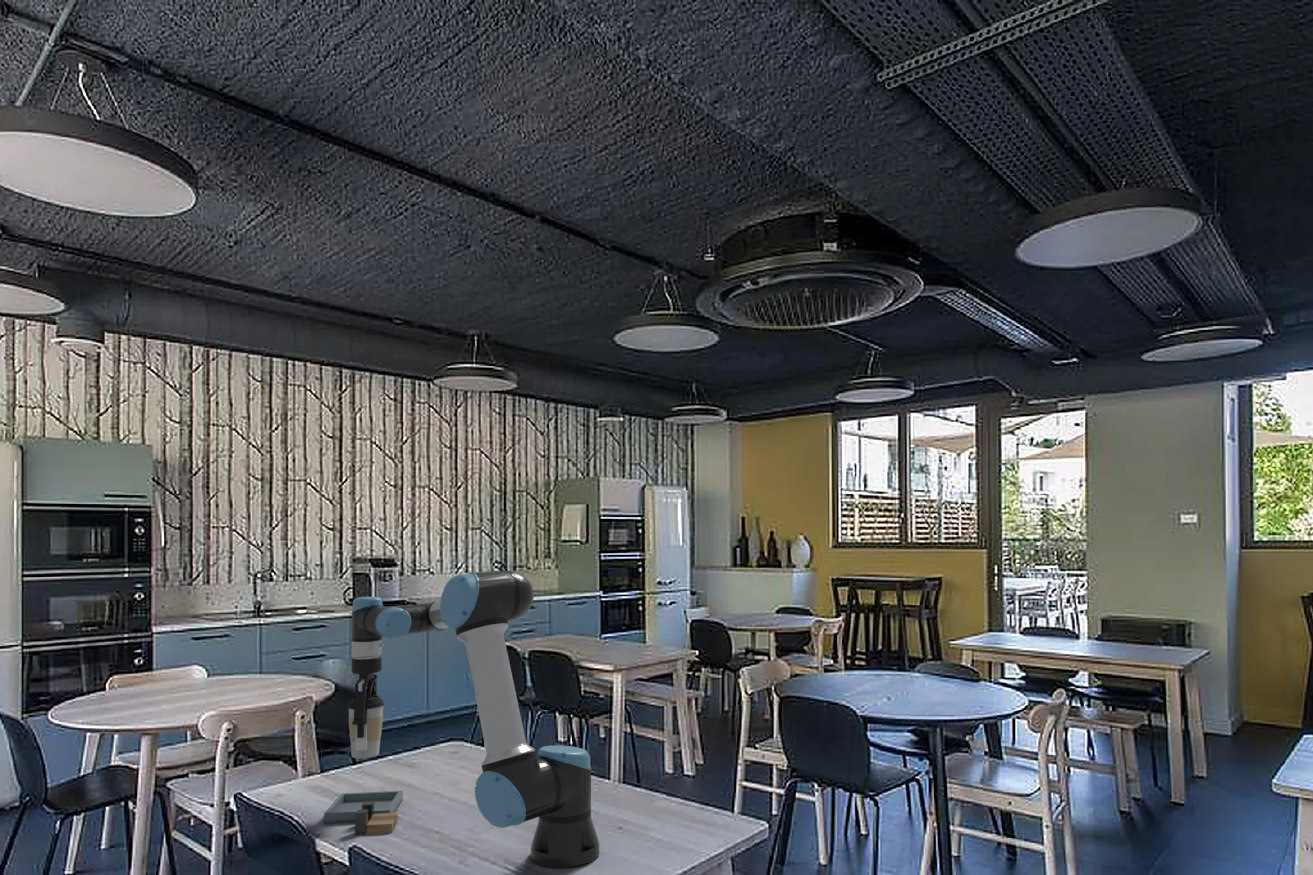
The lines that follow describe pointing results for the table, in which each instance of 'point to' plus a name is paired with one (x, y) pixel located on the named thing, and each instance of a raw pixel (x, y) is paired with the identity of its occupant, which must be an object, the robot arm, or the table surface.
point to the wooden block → (382, 823)
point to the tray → (352, 802)
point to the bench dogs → (363, 817)
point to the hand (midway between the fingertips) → (365, 745)
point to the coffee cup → (368, 727)
